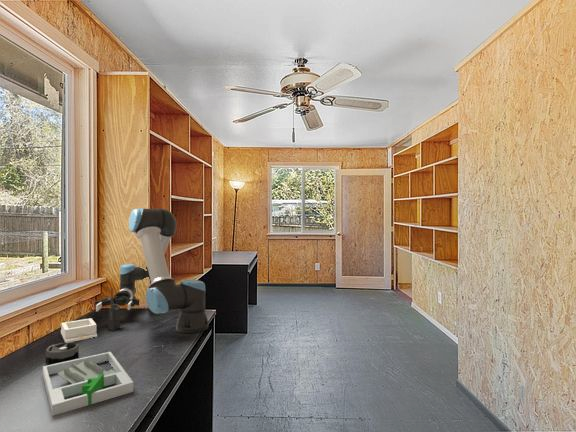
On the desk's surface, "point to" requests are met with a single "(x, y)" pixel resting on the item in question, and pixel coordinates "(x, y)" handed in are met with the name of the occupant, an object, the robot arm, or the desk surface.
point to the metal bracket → (83, 372)
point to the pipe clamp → (93, 386)
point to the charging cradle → (78, 330)
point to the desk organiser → (58, 394)
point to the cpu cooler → (62, 353)
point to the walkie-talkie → (113, 315)
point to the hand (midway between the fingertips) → (112, 307)
